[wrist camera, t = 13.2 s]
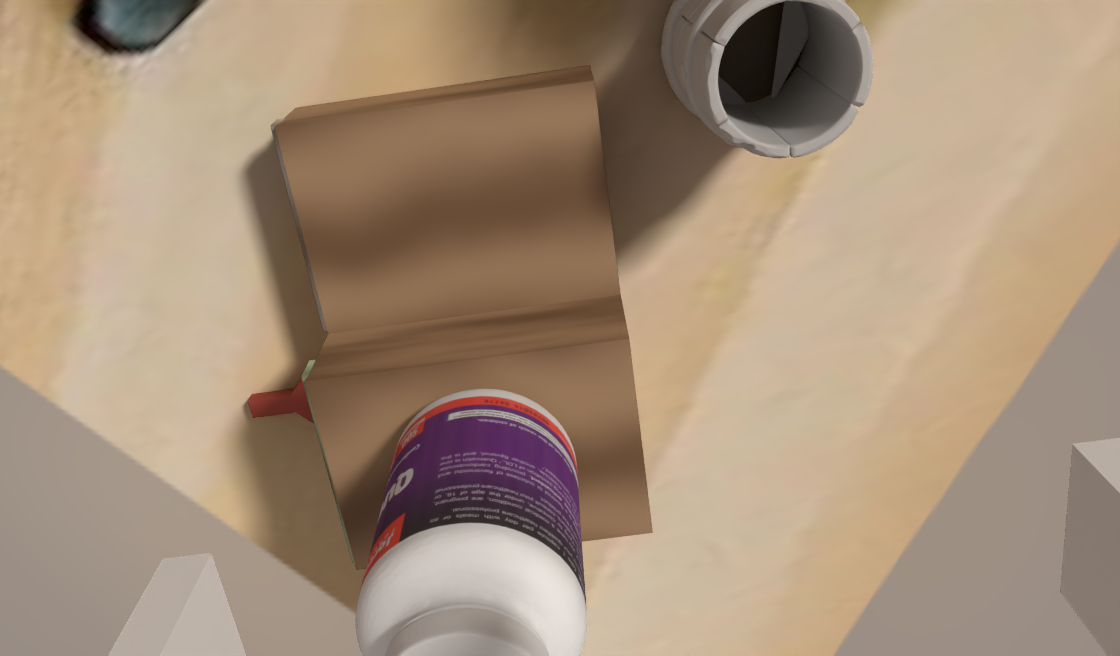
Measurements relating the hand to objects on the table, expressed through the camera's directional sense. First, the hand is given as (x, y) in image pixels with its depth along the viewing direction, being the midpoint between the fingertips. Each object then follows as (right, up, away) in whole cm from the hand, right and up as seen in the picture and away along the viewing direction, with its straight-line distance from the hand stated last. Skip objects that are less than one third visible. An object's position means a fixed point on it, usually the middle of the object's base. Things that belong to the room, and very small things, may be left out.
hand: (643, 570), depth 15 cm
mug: (+8, +19, +30) cm, 36 cm away
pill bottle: (-5, -2, +29) cm, 30 cm away
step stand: (-8, +6, +35) cm, 37 cm away
